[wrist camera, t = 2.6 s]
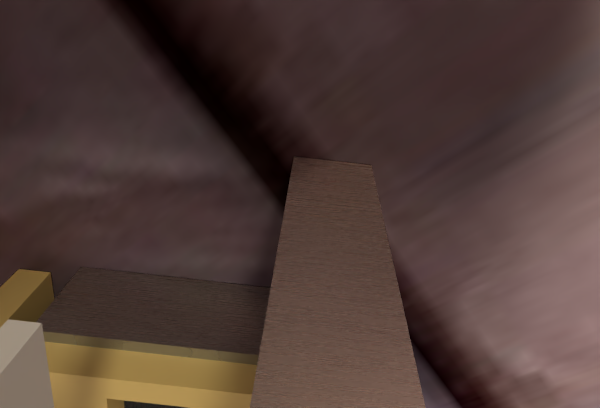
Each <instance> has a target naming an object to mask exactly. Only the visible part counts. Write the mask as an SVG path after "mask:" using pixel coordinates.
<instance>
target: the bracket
mask: <svg viewBox="0 0 600 408" xmlns="http://www.w3.org/2000/svg"><path fill="white" fill-rule="evenodd" d="M53 301H54V293H53V286H52V279H51V272H42V271H33V270H24V269H18V270H17V271H16V272H15V273H14V274H13V275H12V276H11V277H10V278H9V279H8V280H7V281H6V282H5V283H4V284H3V285H2V286H1V287H0V328H1V326H2V325H3V324H4V323H5V322H6V321H7V320H8V319H9V320H18V321H28V322H36V321H37V320H38V319H39V318H40V316H41V315H42V314H43V313H44V312H45V310H46V309H47V308H48V307H49V306H50V304H51V303H52V302H53ZM45 348H46V355H47V362H48V368H49V375H50V382H51V389H52V395H53V402H54V408H124V400H125V401H134V402H143V403H152V404H161V405H170V406H179V407H188V408H250V403H251V397H252V392H253V386H254V380H255V375H256V369H257V365H252V364H243V363H234V362H225V361H216V360H207V359H198V358H189V357H180V356H171V355H162V354H153V353H144V352H135V351H126V350H117V349H108V348H99V347H90V346H81V345H71V344H62V343H53V342H45Z"/></svg>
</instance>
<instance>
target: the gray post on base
mask: <svg viewBox="0 0 600 408" xmlns="http://www.w3.org/2000/svg"><path fill="white" fill-rule="evenodd" d="M270 289H271V288H267V287H258V286H249V285H240V284H231V283H222V282H213V281H204V280H195V279H185V278H176V277H167V276H158V275H149V274H140V273H131V272H122V271H113V270H104V269H95V268H86V267H81V268H80V269H79V270H78V271H77V273H76V274H75V275H74V276H73V278H72V279H71V280H70V281H69V282H68V284H67V285H66V286H65V287H64V288H63V290H62V291H61V292H60V293H59V295H58V296H57V297H56V298H55V299H54V301H53V302H52V303H51V304H50V306H49V307H48V308H47V309H46V310H45V312H44V313H43V314H42V315H41V316H40V318H39V319H38V320H37V321H36V322H37V323H42V328H43V334H44V341H45V342H53V343H62V344H71V345H81V346H90V347H99V348H108V349H117V350H126V351H135V352H144V353H153V354H162V355H171V356H180V357H189V358H198V359H207V360H216V361H225V362H234V363H243V364H252V365H257V363H258V358H259V352H260V346H261V341H262V335H263V329H264V324H265V318H266V312H267V306H268V301H269V295H270ZM124 408H188V407H179V406H170V405H161V404H152V403H143V402H134V401H125V400H124Z"/></svg>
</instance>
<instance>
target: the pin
mask: <svg viewBox="0 0 600 408" xmlns="http://www.w3.org/2000/svg"><path fill="white" fill-rule="evenodd" d="M250 408H425V403H424V399H423V394H422V390H421V385H420V381H419V376H418V372H417V368H416V363H415V359H414V354H413V350H412V345H411V341H410V336H409V332H408V327H407V323H406V318H405V314H404V309H403V305H402V300H401V296H400V291H399V287H398V282H397V278H396V273H395V269H394V264H393V260H392V255H391V251H390V246H389V242H388V237H387V233H386V228H385V224H384V219H383V215H382V211H381V206H380V202H379V197H378V193H377V188H376V184H375V179H374V175H373V170H372V166H371V165H367V164H358V163H349V162H340V161H331V160H322V159H313V158H304V157H295V156H294V159H293V164H292V170H291V176H290V181H289V187H288V193H287V199H286V204H285V210H284V216H283V221H282V227H281V233H280V238H279V244H278V250H277V255H276V261H275V267H274V272H273V278H272V284H271V289H270V295H269V301H268V306H267V312H266V318H265V324H264V329H263V335H262V341H261V346H260V352H259V358H258V363H257V369H256V375H255V380H254V386H253V392H252V397H251V403H250Z"/></svg>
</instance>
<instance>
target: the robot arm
mask: <svg viewBox="0 0 600 408" xmlns="http://www.w3.org/2000/svg"><path fill="white" fill-rule="evenodd" d="M0 408H54V402H53V395H52V389H51V382H50V375H49V368H48V362H47V355H46V348H45V341H44V334H43V328H42V323H37V322H28V321H18V320H9V319H8V320H7V321H6V322H5V323H4V324H3V325H2V326H1V328H0Z"/></svg>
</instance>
